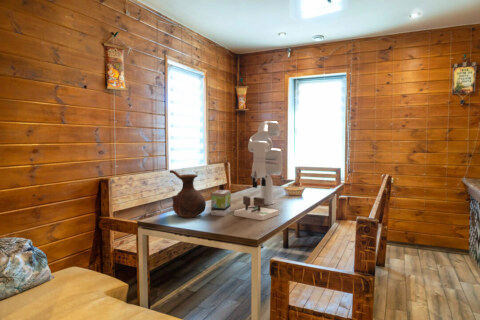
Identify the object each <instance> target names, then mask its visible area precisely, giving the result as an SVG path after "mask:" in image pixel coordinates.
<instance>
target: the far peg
mask: <svg viewBox="0 0 480 320" xmlns="http://www.w3.org/2000/svg"><path fill="white" fill-rule="evenodd" d="M242 203H243V205H245V206H244V208H245V209H246V210H247V209H248V208H258V206H255V207H250V206H251V197H249V196H248V195H243V196H242Z"/></svg>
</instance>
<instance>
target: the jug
mask: <svg viewBox="0 0 480 320" xmlns="http://www.w3.org/2000/svg"><path fill="white" fill-rule="evenodd" d="M170 173H171V174H174V175H175V176H176V177H177V178H178V179H179V180H180V181H181V182H182V187H181V190H180V191H178V193H177V194H176V195H173V196H171V198H172V199H171V200H172V210H173V213H175V215H177V216H179V217H181V218H186V219H188V218H189V219H190V218H196V217H198V216H200V215H201V214H202V213H204V212H205V209H206V205H207V202H206V200H205V197H204V196H203V195H202V193H200V192H199V191H198V190H197V189H196V188H195V187H194V182H195V179H196V178H197V177H199V176H198V174H179V172H177V171H175V170H173V169H171V170H169V174H170Z"/></svg>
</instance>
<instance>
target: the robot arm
mask: <svg viewBox="0 0 480 320" xmlns="http://www.w3.org/2000/svg"><path fill="white" fill-rule="evenodd" d="M281 133H282V130H281V125H280V123H279V122H278V121H262V122H261V123H260V124H259V126H258V128H257V132H256V133H254V134H253V135H252V136H250V138H249V140H248V144H247V148H248V151H249V152H250V153H253V162H252V167H251V174H250V179H251V181H252V188H254V189H255V188H256V189H257V188H258V179H260V180H259V181H260V187H259V188H260V196H259V198H264V206H265V205H267V206H268V205H269V206H270V205H275V201H274V200H276V196H274V195H273V192H274V190H273V189H274V187H273V186H274V185H273V178H272V177H271V176H281V174H282V172H283V151H282V150H281V149H280V148H274V146H273V143H274V142H273V141H272V139H271V138H270V137H272V138H274V137H280V135H281Z"/></svg>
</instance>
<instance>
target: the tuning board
mask: <svg viewBox="0 0 480 320" xmlns="http://www.w3.org/2000/svg"><path fill="white" fill-rule="evenodd" d="M249 207H255V206H254V205H250V206H249ZM255 209H258V208H248V209H247V210H246V209H245V207H243V208H240V209H236V210H234V214H233V215H234V216H236V217H240V218H241V217H242V218H246V219H252V220H259V221H265V220H267V219H271V218H273V217H276V216H279V210H278V209H274V208H266V207H260V211H258V210H257V211H254V212H251V211H252V210H255Z"/></svg>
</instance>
